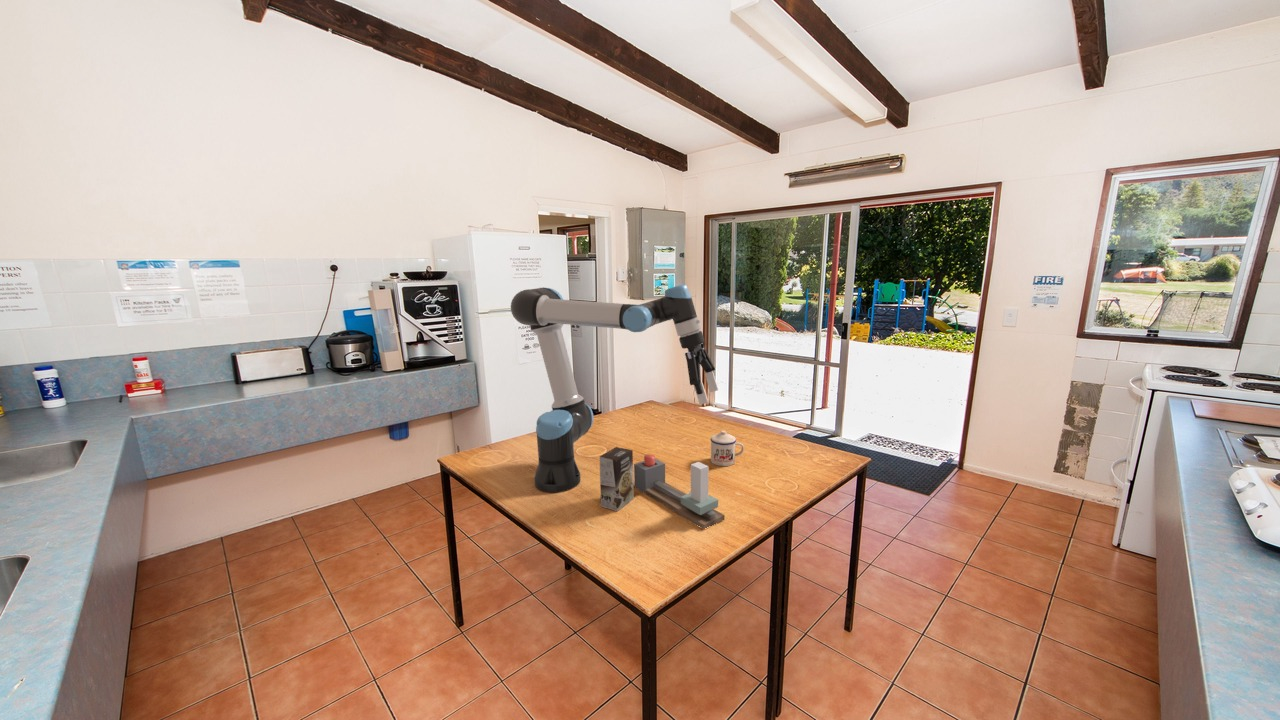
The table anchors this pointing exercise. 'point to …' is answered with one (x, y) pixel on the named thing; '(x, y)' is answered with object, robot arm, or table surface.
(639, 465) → the red push button box
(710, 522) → the rail base
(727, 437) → the teacup with lid
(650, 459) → the button
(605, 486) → the coffee box
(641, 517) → the table surface
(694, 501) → the carriage
